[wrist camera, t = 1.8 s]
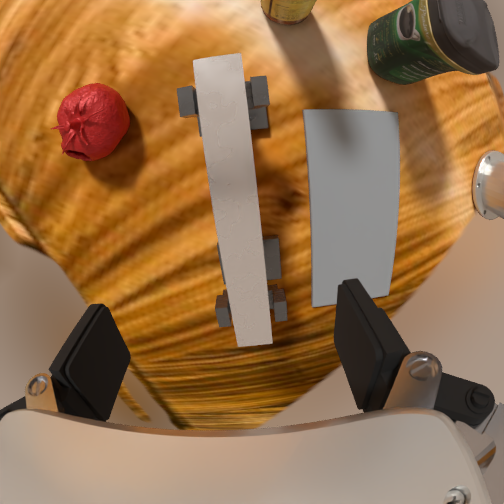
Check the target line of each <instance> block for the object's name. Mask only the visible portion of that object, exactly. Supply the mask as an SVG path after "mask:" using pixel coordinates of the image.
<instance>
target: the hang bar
mask: <svg viewBox="0 0 504 504" xmlns="http://www.w3.org/2000/svg"><path fill="white" fill-rule="evenodd" d="M193 66H194V75H195V84H196V92H197V101H198V109H199V116H200V124H201V132H202V139H203V146H204V153H205V160H206V167H207V174H208V180H209V187H210V193H211V200H212V206H213V212H214V218H215V224H216V230H217V236H218V242H219V248H220V254H221V259H222V265H223V271H224V276H225V282H226V287H227V292H228V298H229V303H230V308H231V313H232V318H233V323H234V328H235V333H236V338H237V343H238V347H239V346H251V345H262V344H272V343H273V342H272V331H271V320H270V310H269V299H268V289H267V279H266V269H265V259H264V249H263V240H262V230H261V221H260V211H259V202H258V193H257V184H256V175H255V166H254V157H253V148H252V139H251V131H250V122H249V114H248V106H247V97H246V89H245V81H244V73H243V65H242V57H241V53H237V54H229V55H222V56H215V57H209V58H203V59H197V60H193Z"/></svg>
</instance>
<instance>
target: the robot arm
mask: <svg viewBox="0 0 504 504" xmlns="http://www.w3.org/2000/svg"><path fill="white" fill-rule="evenodd" d="M472 193H473V200H474V205H475V207H476V210H477V211H478V213H479V214H480V215H481V216H482V217H484V218H486V219H489V220H492V219H495V218H497V217H499V216H500V217H502V218H503V219H504V155H503V154H502V153H501V152H498V151H494V150H491V151H488V152H486V153H485V154H484V155H483V156H482V157H481V159H480V160H479V162H478V164H477V166H476V169H475V172H474V177H473V185H472ZM334 343H335V346H336V349H337V352H338V354H339V357H340V360H341V362H342V365H343V368H344V371H345V373H346V376H347V379H348V382H349V385H350V388H351V391H352V393H353V396H354V399H355V402H356V405H357V408H358V409H359V410H360V409H363V412H364V413H360V414H356V415H350V416H345V417H340V418H335V419H329V420H324V421H317V422H311V423H304V424H297V425H290V426H281V427H272V428H261V429H247V430H221V431H196V430H171V429H156V428H146V427H137V426H129V425H122V424H115V423H109V422H106V420H108V419H109V417H110V414H111V411H112V408H113V405H114V402H115V400H116V397H117V394H118V391H119V389H120V386H121V383H122V380H123V378H124V375H125V372H126V370H127V367H128V365H129V362H130V358H131V357H130V352H129V350H128V348H127V346H126V344H125V342H124V340H123V338H122V336H121V334H120V332H119V330H118V328H117V326H116V324H115V321H114V319H113V317H112V315H111V312H110V310H109V308H108V307H106V306H105V305H104V304H91V305H90V306H89V307H88V309H87V310H86V312H85V313H84V315H83V316H82V317H81V319H80V320H79V322H78V323H77V325H76V326H75V328H74V329H73V331H72V332H71V334H70V335H69V337H68V339H67V340H66V342H65V343H64V345H63V346H62V348H61V350H60V351H59V353H58V354H57V356H56V358H55V359H54V361H53V363H52V364H51V366H50V368H49V371H50V372H51V373H52V376H51V377H50V376H49V375H47V374H45V373H39V374H37V375H35V376H34V377H32V378H31V379H30V380H29V381H28V383H27V384H26V387H25V397H23V398H21V399H19V400H17V401H16V402H14V403H12V404H10V405H8V406H6V407H4V408H3V409H1V410H0V504H503V502H504V404H502V403H499V404H498V405H497V404H495V399H494V395H493V393H492V392H491V391H490V390H489V389H488V388H487V387H486V386H483V385H481V384H477V383H475V382H471V381H468V380H464V379H462V378H459V377H455V376H452V375H449V374H446V373H443V372H442V365H441V363H440V361H439V360H438V358H437V357H435V356H434V355H432V354H430V353H428V352H423V351H416V352H412V353H411V352H410V351H409V349H408V347H407V346H406V345H405V343H404V341H403V339H402V338H401V336H400V335H399V333H398V331H397V330H396V328H395V327H394V325H393V324H392V322H391V321H390V319H389V318H388V316H387V314H386V313H385V311H384V310H383V309H382V308H377V306H376V305H375V303H374V302H373V300H372V299H371V297H370V296H369V294H368V293H367V291H366V290H365V288H364V287H363V285H362V284H361V282H360V281H359V279H358V278H354V279H347V280H343V282H342V284H339V285H338V291H337V305H336V318H335V329H334Z"/></svg>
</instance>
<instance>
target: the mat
mask: <svg viewBox="0 0 504 504" xmlns="http://www.w3.org/2000/svg"><path fill="white" fill-rule="evenodd" d="M303 120H304V130H305V141H306V153H307V167H308V182H309V201H310V224H311V266H312V307H318V306H325V305H332V304H337V291H338V285H339V284H342V282H343V280H347V279H354V278H358V279H359V281H360V282H361V284H362V285H363V287H364V288H365V290H366V291H367V293H368V294H369V296H370V297H371V298H375V297H381V296H386V295H388V294H389V289H390V282H391V276H392V269H393V262H394V254H395V245H396V236H397V224H398V210H399V189H400V141H399V121H398V112H386V111H372V110H349V109H310V110H303Z"/></svg>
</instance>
